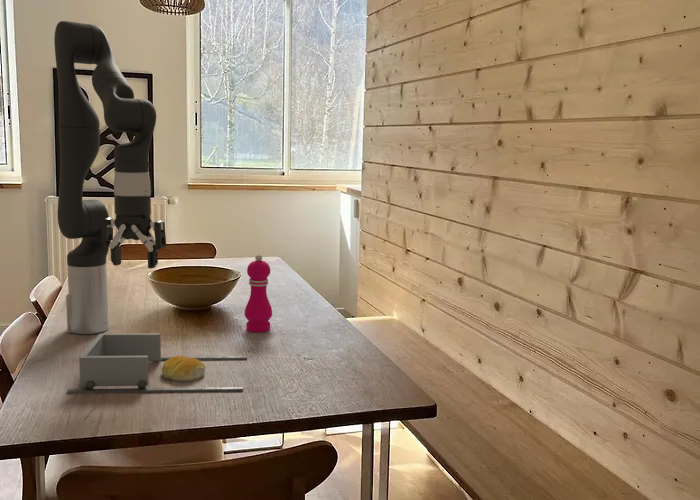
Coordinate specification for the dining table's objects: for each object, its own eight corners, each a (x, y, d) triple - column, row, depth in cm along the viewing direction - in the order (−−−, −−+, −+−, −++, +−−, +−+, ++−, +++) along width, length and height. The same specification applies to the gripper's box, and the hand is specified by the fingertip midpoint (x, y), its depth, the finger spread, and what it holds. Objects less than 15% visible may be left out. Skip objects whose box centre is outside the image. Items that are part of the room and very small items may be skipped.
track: (67, 393, 131) (66, 391, 131) (94, 359, 151) (94, 357, 151) (243, 391, 135) (243, 388, 135) (247, 358, 155) (247, 356, 155)
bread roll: (181, 365, 149) (181, 348, 148) (211, 374, 144) (211, 357, 144) (152, 376, 142) (152, 358, 142) (182, 386, 137) (182, 367, 137)
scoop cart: (79, 390, 133) (77, 359, 131) (102, 359, 150) (101, 332, 149) (146, 389, 134) (146, 358, 133) (161, 359, 151) (161, 332, 150)
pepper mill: (267, 334, 173) (267, 258, 170) (240, 331, 175) (240, 256, 171) (275, 326, 180) (276, 253, 177) (250, 324, 182) (250, 251, 178)
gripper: (92, 192, 143) (95, 267, 146) (153, 196, 140) (155, 272, 143) (112, 190, 150) (115, 261, 153) (171, 193, 147) (172, 265, 150)
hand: (134, 266), depth 148 cm, fingers open, 8 cm apart
